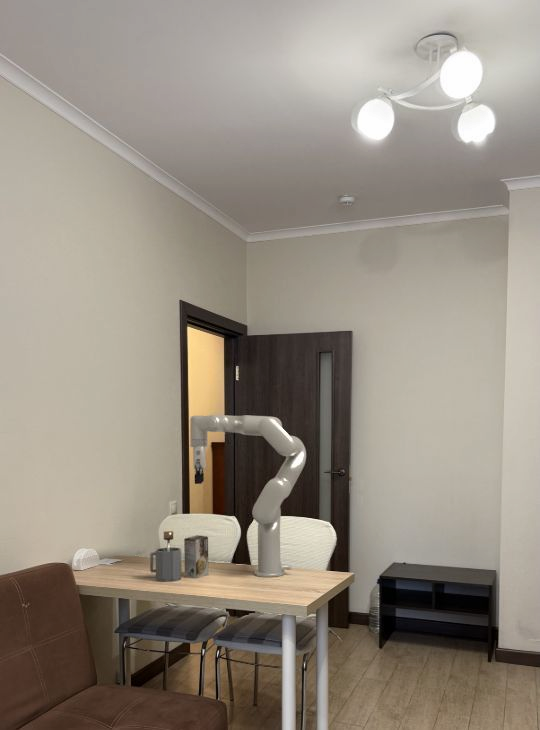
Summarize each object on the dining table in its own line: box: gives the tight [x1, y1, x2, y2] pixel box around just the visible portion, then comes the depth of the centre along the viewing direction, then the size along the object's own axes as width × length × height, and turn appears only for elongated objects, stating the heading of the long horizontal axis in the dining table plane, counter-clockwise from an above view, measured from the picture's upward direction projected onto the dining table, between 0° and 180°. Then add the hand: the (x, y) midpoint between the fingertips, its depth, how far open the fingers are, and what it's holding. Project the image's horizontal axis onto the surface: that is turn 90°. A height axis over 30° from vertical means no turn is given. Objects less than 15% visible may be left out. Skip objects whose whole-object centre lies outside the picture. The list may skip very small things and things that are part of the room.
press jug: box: [149, 546, 182, 583], centre depth 289 cm, size 13×10×12 cm
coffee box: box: [183, 534, 210, 579], centre depth 294 cm, size 9×6×16 cm
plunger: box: [163, 530, 174, 552], centre depth 289 cm, size 8×8×16 cm
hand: (199, 482), depth 305 cm, fingers open, 9 cm apart
